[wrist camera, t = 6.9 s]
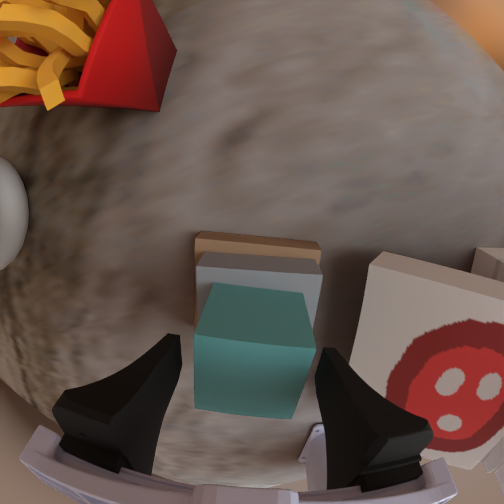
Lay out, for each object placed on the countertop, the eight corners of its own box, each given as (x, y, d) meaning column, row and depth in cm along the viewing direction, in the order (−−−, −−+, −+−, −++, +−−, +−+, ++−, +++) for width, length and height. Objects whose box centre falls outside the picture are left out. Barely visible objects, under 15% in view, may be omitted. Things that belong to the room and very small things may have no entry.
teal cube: (286, 359, 17) (291, 419, 12) (210, 350, 17) (194, 407, 12) (302, 293, 15) (316, 348, 11) (214, 281, 15) (193, 334, 11)
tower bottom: (297, 332, 22) (300, 350, 20) (201, 323, 22) (194, 340, 20) (314, 239, 19) (321, 250, 17) (203, 228, 20) (195, 238, 17)
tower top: (299, 346, 20) (303, 368, 17) (205, 340, 20) (199, 361, 17) (315, 259, 17) (323, 275, 15) (204, 251, 17) (196, 266, 15)
